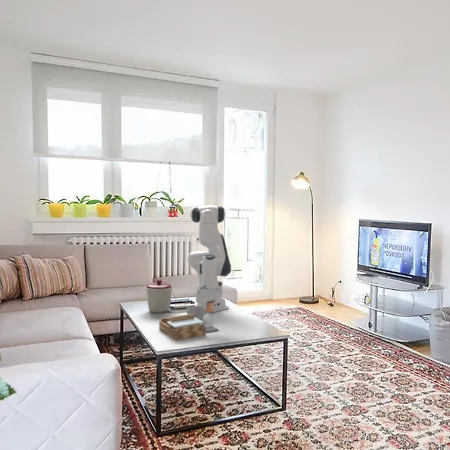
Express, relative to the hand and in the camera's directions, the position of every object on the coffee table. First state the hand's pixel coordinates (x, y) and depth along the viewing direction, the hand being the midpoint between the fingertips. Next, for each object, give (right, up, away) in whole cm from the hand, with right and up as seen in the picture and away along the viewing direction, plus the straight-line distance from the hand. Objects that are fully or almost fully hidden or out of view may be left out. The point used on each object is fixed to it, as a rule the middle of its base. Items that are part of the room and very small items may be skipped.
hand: (209, 308), depth 250 cm
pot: (0, -2, 0) cm, 2 cm away
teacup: (-8, -11, +21) cm, 25 cm away
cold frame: (-15, -13, -3) cm, 20 cm away
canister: (-34, -10, +40) cm, 53 cm away
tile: (0, -13, +1) cm, 13 cm away
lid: (-13, -7, -8) cm, 16 cm away
